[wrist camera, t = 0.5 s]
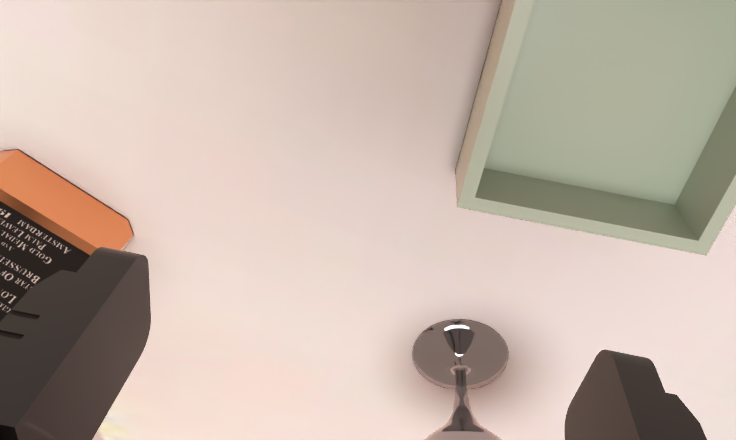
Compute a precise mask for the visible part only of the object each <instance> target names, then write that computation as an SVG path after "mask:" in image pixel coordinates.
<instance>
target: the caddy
mask: <svg viewBox="0 0 736 440" xmlns="http://www.w3.org/2000/svg"><path fill="white" fill-rule="evenodd" d="M455 175H456V196H457V207H459V208H464V209H469V210H475V211H480V212H485V213H490V214H495V215H500V216H505V217H511V218H516V219H521V220H526V221H531V222H536V223H542V224H547V225H552V226H557V227H562V228H567V229H572V230H578V231H583V232H588V233H593V234H598V235H603V236H609V237H614V238H619V239H624V240H629V241H634V242H639V243H645V244H650V245H655V246H660V247H665V248H670V249H676V250H681V251H686V252H691V253H696V254H701V255H707V253H708V252H709V250H710V248H711V246H712V245H713V243H714V241H715V239H716V238H717V236H718V234H719V232H720V231H721V229H722V227H723V226H724V224H725V222H726V220H727V219H728V217H729V215H730V213H731V212H732V210H733V208H734V206H735V205H736V0H502V1H501V4H500V8H499V12H498V15H497V19H496V23H495V26H494V30H493V34H492V37H491V41H490V45H489V48H488V52H487V56H486V59H485V63H484V67H483V70H482V74H481V78H480V81H479V85H478V89H477V92H476V96H475V100H474V103H473V107H472V111H471V114H470V118H469V122H468V125H467V129H466V133H465V136H464V140H463V144H462V147H461V151H460V155H459V159H458V162H457V166H456V170H455Z"/></svg>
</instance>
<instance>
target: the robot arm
mask: <svg viewBox="0 0 736 440" xmlns="http://www.w3.org/2000/svg"><path fill="white" fill-rule="evenodd" d="M150 323H151V313H150V291H149V268H148V260H147V258H146V256H144V255H140V254H135V253H130V252H126V251H121V250H116V249H111V248H106V247H99V248H97V249H96V250H95V251H94V252H93V253H92V254H91V256H90V257H89V258H88V259H87V260H86V262H85V263H84V264H83V265H82V266H81V268H80V269H79V270H78V271H77V272H71V271H66V270H60V271H58V272H57V273H55V274H53V275H52V276H50V277H48V278H46V279H45V280H43V281H41V282H39V283H38V284H36V285H34V286H32V287H31V288H30V289H29V291H28V292H27V293H26V294H25V295H24V296H23V297H22V298H21V299H20V300H19V302H18V303H17V304H16V305H15V306H14V307H13V308H12V309H11V313H10V315H8V314H7V315H6V316H5V317H4V318H3V319H2V320H1V321H0V440H92V439H93V437H94V435H95V434H96V432H97V430H98V428H99V427H100V425H101V423H102V421H103V420H104V418H105V416H106V415H107V413H108V411H109V409H110V408H111V406H112V404H113V402H114V401H115V399H116V397H117V395H118V394H119V392H120V390H121V389H122V387H123V385H124V383H125V382H126V380H127V378H128V376H129V375H130V373H131V371H132V370H133V368H134V366H135V364H136V363H137V361H138V359H139V357H140V356H141V354H142V352H143V350H144V347H145V345H146V342H147V339H148V335H149V330H150ZM565 440H707V439H706V437H705V434H704V432H703V430H702V427H701V425H700V423H699V422H698V420H697V419H696V418H695V417H694V416H693V414H692V413H691V412H690V411H689V409H688V408H687V407H686V406H685V405H684V403H683V402H682V401H681V400H680V399H679V397H678V396H677V395H674V394H669V393H665V391H664V388H663V386H662V383H661V381H660V378H659V376H658V373H657V371H656V368H655V366H654V364H653V363H652V361H651V360H650V359H648V358H644V357H639V356H634V355H629V354H624V353H619V352H614V351H610V350H602V351H601V352H599V354H598V355H597V356H596V358H595V360H594V362H593V363H592V365H591V367H590V369H589V371H588V372H587V374H586V376H585V378H584V380H583V381H582V383H581V385H580V387H579V389H578V391H577V392H576V394H575V396H574V398H573V400H572V401H571V403H570V405H569V408H568V411H567V415H566V420H565Z"/></svg>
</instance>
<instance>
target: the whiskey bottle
mask: <svg viewBox="0 0 736 440" xmlns="http://www.w3.org/2000/svg"><path fill="white" fill-rule="evenodd" d="M132 236H133V233H132V230H131V228H130V225H129V222H128V220H127V219H125V218H124V217H122V216H121V215H119V214H117V213H116V212H114V211H113V210H111V209H110V208H108V207H106V206H105V205H103V204H102V203H100V202H99V201H97V200H95V199H94V198H92V197H91V196H89V195H88V194H86V193H84V192H83V191H81V190H80V189H78V188H77V187H75V186H73V185H72V184H70V183H69V182H67V181H66V180H64V179H63V178H61V177H59V176H58V175H56V174H55V173H53V172H52V171H50V170H48V169H47V168H45V167H44V166H42V165H41V164H39V163H37V162H36V161H34V160H33V159H31V158H30V157H28V156H26V155H25V154H23V153H22V152H20V151H19V150H10V151H1V152H0V321H1V320H2V319H3V318H4V317H5V316H6V315H7V314H8V315H10V313H11V309H12V308H13V307H14V306H15V305H16V304H17V303H18V302H19V300H20V299H21V298H22V297H23V296H24V295H25V294H26V293H27V292H28V291H29V289H30V288H31V287H32V286H34V285H36V284H38V283H39V282H41V281H43V280H45V279H46V278H48V277H50V276H52V275H53V274H55V273H57V272H58V271H60V270H66V271H71V272H77V271H78V270H79V269H80V268H81V266H82V265H83V264H84V263H85V262H86V260H87V259H88V258H89V257H90V256H91V254H92V253H93V252H94V251H95V250H96V249H97V248H99V247H106V248H111V249H116V250H121V251H123V250H124V248H125V247H126V245H127V244H128V242H129V241H130V239H131V238H132Z"/></svg>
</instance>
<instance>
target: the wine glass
mask: <svg viewBox="0 0 736 440" xmlns="http://www.w3.org/2000/svg"><path fill="white" fill-rule="evenodd" d="M412 356H413V361H414V364H415V366H416V368H417V370H418V371H419V372H420V374H421V375H422V376H423V377H424V378H426V379H427V380H428V381H430V382H432V383H434V384H435V385H438V386H441V387H444V388H448V389H454V390H455V400H454V407H453V412H452V415H451V417H450V419H449V420H448V422H447V423H446V424H445V425H444V426H442V427H441V428H439V429H438V430H436V431H435V432H433V433H432V434H430V435H429V436H428V437H427V438H426V439H424V440H502V439H500V438H499V437H498V436H497V435H495V434H493V433H492V432H490V431H489V430H487V429H486V428H484V427H483V426H481V425H480V424H479V423H478V422H477V421H476V419H475V418H474V416H473V414H472V411H471V407H470V403H469V398H468V393H467V390H469V389H475V388H479V387H482V386H484V385H487V384H489V383H491V382H492V381H494V380H495V379H496V378H497V377H499V376H500V375H501V373H502V372H503V371H504V369H505V367H506V365H507V362H508V349H507V345H506V343H505V341H504V340H503V338H502V337H501V336H500V335H499V334H498V333H497V332H496V331H495V330H493V329H492V328H490V327H488V326H487V325H484V324H482V323H479V322H475V321H471V320H463V319H460V320H448V321H443V322H440V323H437V324H435V325H433V326H431V327H429V328H428V329H426V330H425V331H423V332H422V333H421V334H420V335H419V337H418V338H417V340H416V341H415V344H414V346H413V351H412Z"/></svg>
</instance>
